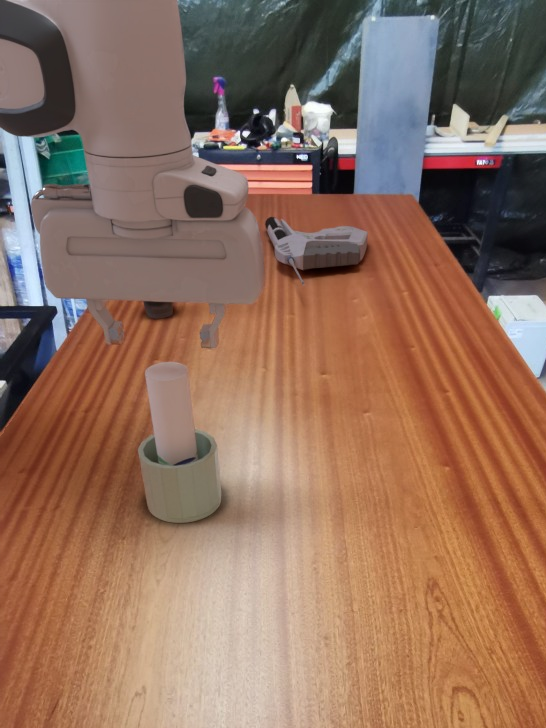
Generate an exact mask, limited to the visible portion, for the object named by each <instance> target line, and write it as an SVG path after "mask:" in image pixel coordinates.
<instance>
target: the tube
mask: <svg viewBox="0 0 546 728" xmlns="http://www.w3.org/2000/svg"><path fill="white" fill-rule="evenodd" d="M144 376H145V384H146V391H147V396H148V402H149V409H150V416H151V417H150V418H151V423H152V430H153V434H154V436H155V443H156V449H157V455H158V462H159V464H161V465H172V466H178V465H184V464H190V463H192V462H195V461H197V460H198V456H197V447H196V438H195V429H196V428H195V422H194V412H193V404H192V395H191V386H190V385H191V384H190V377H189V376H190V375H189V369H188V366H187V365H185V364H184V363H181V362H176V361H162V362H158V363H155V364H152V365H150V366H148V367H147V368H146V369H145V371H144Z"/></svg>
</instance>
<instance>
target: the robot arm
mask: <svg viewBox="0 0 546 728" xmlns="http://www.w3.org/2000/svg"><path fill="white" fill-rule="evenodd" d="M184 49H185V48H184V40H183V31H182V23H181V16H180V9H179V4H178V0H0V129H1V130H3V131H5V132H6V133H8V134H10V135H13V136H15V137H21V138H22V137H24V138H25V137H27V138H44V137H48V136H52V135H56V134H59V133H61V132H65V131H66V132H68V131H71V130H72V131H75V132H76V133H77V134H78V135H79V136H80V138H81V141H82V147H83V154H84V159H85V165H86V171H87V176H88V184H68V185H60V184H56V183H48V184H44V185H43V186H42V187H41V188H42V189H39V190H37V191H36V192H35V193H34V194H33V196H32V197H31V202H30V211H31V214H32V220H33V224H34V227H35V229H36V231H37V233H38V234H39V249H40V251H39V253H40V260H41V269H42V275H43V281H44V285H45V288H46V289H47V290H48V291H49V292H50V294H51V295H52V296H53V297H54V298H56V299H66V300H67V299H68V300H85V301H86V302H85V303H86V306H87V311H88V312H89V314H90V315H91V316H92V317H93V319H94V320H95V321H96V322H97V324H98V325H99V326H100V327H101V329H103V331H102V332H103V335H104V340H105V341H104V342H105V344H106V345H108V346H109V345H111V346H112V345H114V346H115V345H116V346H117V345H118V346H121V345H123V343H124V342H125V341H126V333H125V331H124V329H125V327H124V321H121V320H115V319H114V317H113V316H112V314H111V312H110V310H108V308H107V306H106V305H107V304H108V303H109V301H124V302H125V301H126V302H127V301H128V302H129V301H130V302H143V301H155V302H173V303H186V304H187V303H189V304H208V307H209V309H208V310H209V314H210V315H215V316H214V318H213V319H212V323H208V324H207V323H203V324H202V326H201V329H200V330H199V339H200V340H201V341H200V348H201V349H211V350H213V349H214V350H216V349H218V347H219V344H220V332H219V327H220V324H221V323H222V321H223V319H224V317H225V315H226V313H227V311H228V308H229V305H247V306H248V305H254V304H255V303H256V302H257V301H258V299H260V297H261V296H262V294H263V292H264V289H265V286H266V266H265V257H264V249H263V241H262V237H261V232H260V227H259V224H258V220H257V219H256V217H255V214H254V213H253V212H252V210H250V209H249V208H248V207H247V206H246V204H247V201H248V198H249V181H248V178H247V177H246V176H245V175H244V174H242V173H241V172H238V171H236V170H234V169H231V168H229V167H225V166H222V165H219V164H217V163H214V162H211V161H209V160H207V159H204V158H202V157H199V156H197V155H195V154H193V144H192V137H191V132H190V129H189V127H188V124H187V120H186V114H185V92H186V86H187V70H186V59H185V50H184ZM41 196H43V197H41Z"/></svg>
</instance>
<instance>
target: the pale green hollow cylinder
mask: <svg viewBox="0 0 546 728" xmlns="http://www.w3.org/2000/svg"><path fill="white" fill-rule="evenodd" d="M194 429H195V438H196V447H197V456H198V460H197V461H195V462H192V463H190V464H184V465H178V466H172V465H161V464H159V462H158V455H157V449H156V443H155V436H154V433H152V434H151V435H149V436H147V437H146V438H145V439H143V440H142V441H141V443H140V445H139V446H138V448H137V454H138V460H139V466H140V472H141V477H142V483H143V489H144V495H145V500H146V505H147V509H148V512H150V514H151V515H152V516H154V517H155V518H156V519H158V520H161V521H163V522H168V523H173V524H174V523H175V524H186V523H193V522H196V521H200V520H203V519H205V518H208V517H209V516H211V515H212V514H214V513H215V512H216V511H217V510H218V508H219V507H220V506H221V504H222V503H221V502H222V484H221V473H220V462H219V451H218V444H217V441H216V439H215V437H214V436H212V435H211V434H209V433H208V432H207V431H203V430H200V429H196V428H194Z"/></svg>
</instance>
